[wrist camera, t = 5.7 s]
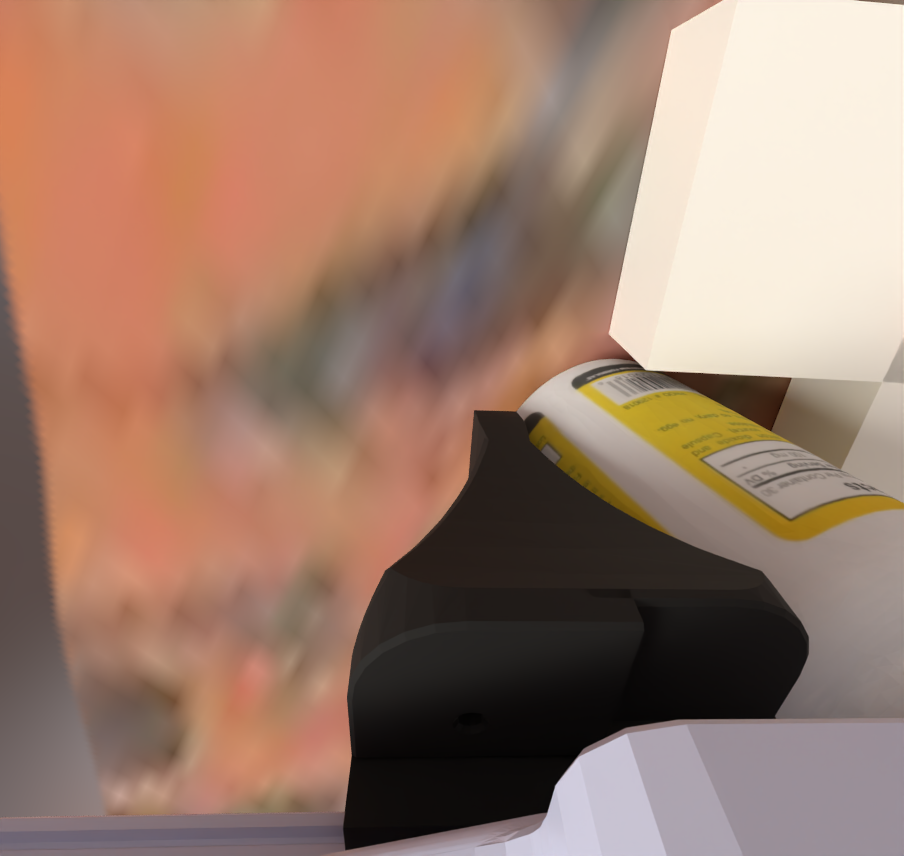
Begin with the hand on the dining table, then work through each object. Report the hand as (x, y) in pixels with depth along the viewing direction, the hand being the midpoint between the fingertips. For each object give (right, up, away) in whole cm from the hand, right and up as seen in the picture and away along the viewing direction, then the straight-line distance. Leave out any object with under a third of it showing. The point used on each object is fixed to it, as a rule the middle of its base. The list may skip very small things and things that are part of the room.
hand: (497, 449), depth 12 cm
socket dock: (+7, -1, +3) cm, 7 cm away
